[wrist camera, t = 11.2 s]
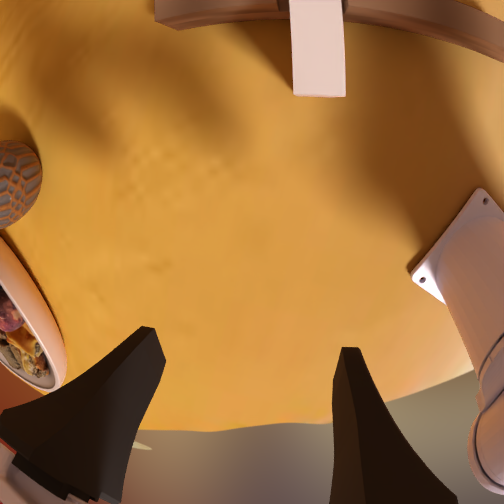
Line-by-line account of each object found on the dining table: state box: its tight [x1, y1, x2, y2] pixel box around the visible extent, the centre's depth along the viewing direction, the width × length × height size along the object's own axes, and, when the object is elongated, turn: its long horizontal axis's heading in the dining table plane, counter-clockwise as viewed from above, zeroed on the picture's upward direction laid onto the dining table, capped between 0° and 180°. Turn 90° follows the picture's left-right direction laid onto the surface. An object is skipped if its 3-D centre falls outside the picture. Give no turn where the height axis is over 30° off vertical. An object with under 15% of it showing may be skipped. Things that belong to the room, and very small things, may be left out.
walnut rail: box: [155, 0, 504, 62], centre depth 9 cm, size 20×2×3 cm, turn 93°
